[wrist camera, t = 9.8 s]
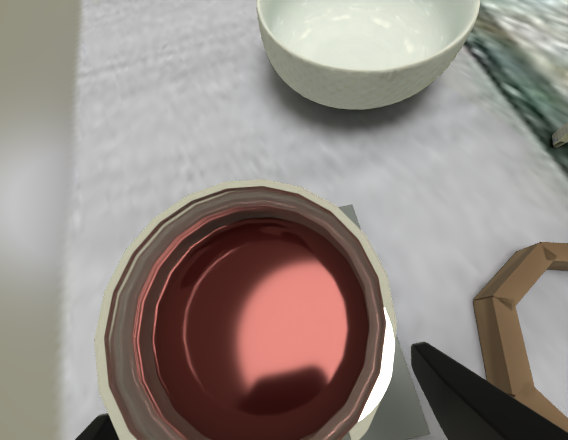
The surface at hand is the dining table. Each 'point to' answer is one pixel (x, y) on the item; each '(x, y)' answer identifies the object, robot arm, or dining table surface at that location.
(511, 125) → the dining table surface
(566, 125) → the caliper
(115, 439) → the robot arm
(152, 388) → the wineglass
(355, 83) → the cereal bowl
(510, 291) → the ring holder
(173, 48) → the dining table surface
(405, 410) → the slate board
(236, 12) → the dining table surface
